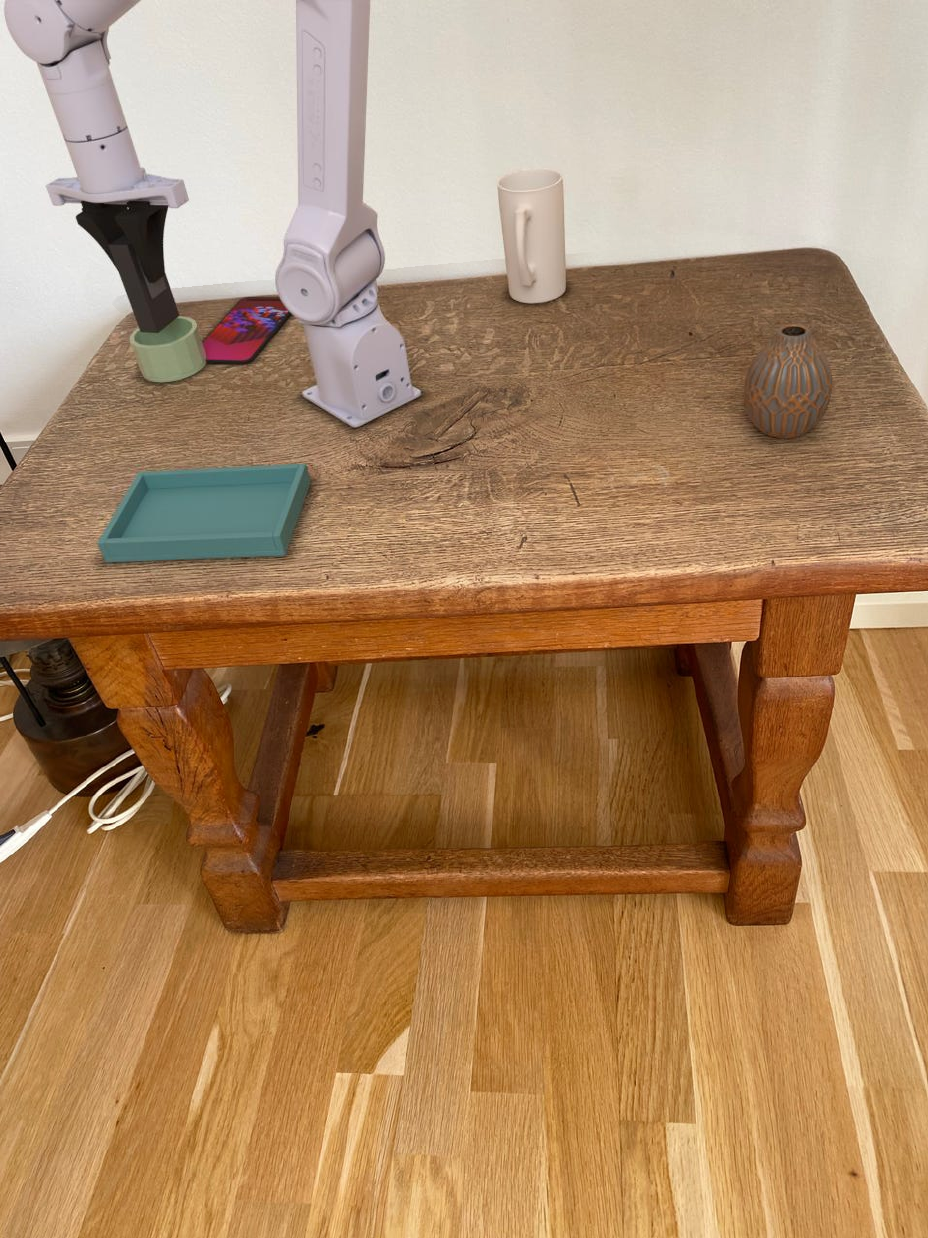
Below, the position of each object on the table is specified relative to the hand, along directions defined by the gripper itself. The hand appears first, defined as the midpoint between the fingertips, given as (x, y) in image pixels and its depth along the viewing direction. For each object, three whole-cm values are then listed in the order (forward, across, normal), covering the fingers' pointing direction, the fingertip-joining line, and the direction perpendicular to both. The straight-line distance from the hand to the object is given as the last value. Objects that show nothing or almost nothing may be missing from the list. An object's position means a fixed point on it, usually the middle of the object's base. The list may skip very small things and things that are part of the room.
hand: (145, 277), depth 100 cm
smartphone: (+11, -3, -10) cm, 15 cm away
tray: (+10, -19, +23) cm, 31 cm away
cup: (+10, +1, -1) cm, 10 cm away
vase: (+11, -62, 0) cm, 63 cm away
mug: (+10, -33, -22) cm, 41 cm away
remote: (+5, 0, 0) cm, 5 cm away
